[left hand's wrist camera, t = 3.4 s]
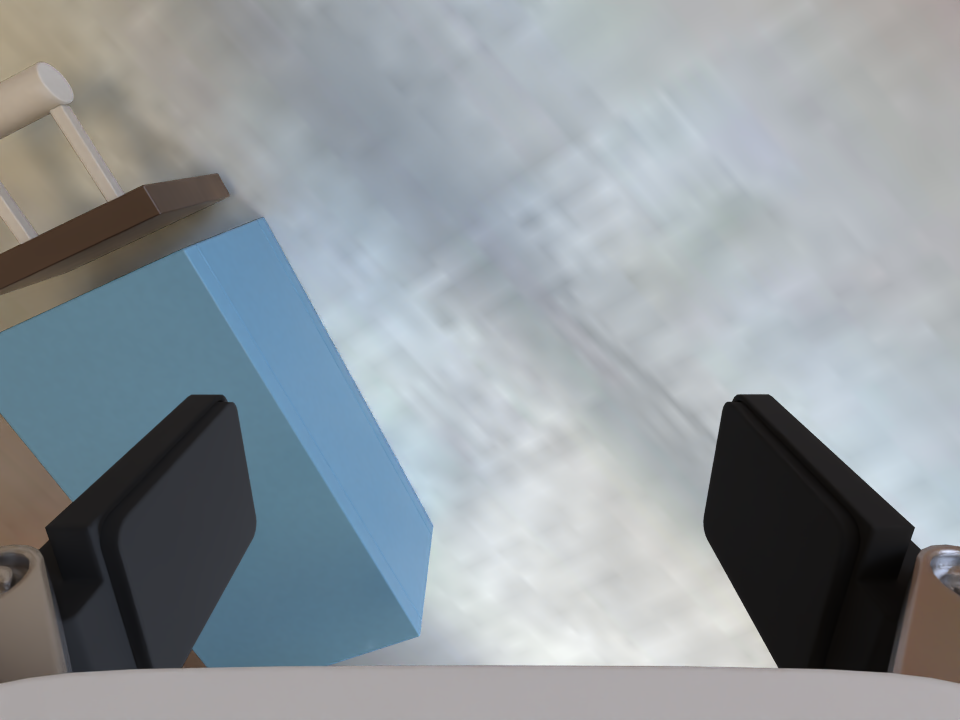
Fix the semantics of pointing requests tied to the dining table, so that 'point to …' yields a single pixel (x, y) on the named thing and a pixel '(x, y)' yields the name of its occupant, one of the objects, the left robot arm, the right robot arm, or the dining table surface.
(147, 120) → the dining table surface
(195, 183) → the drawer
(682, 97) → the dining table surface
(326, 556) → the blue drawer cabinet
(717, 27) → the dining table surface
